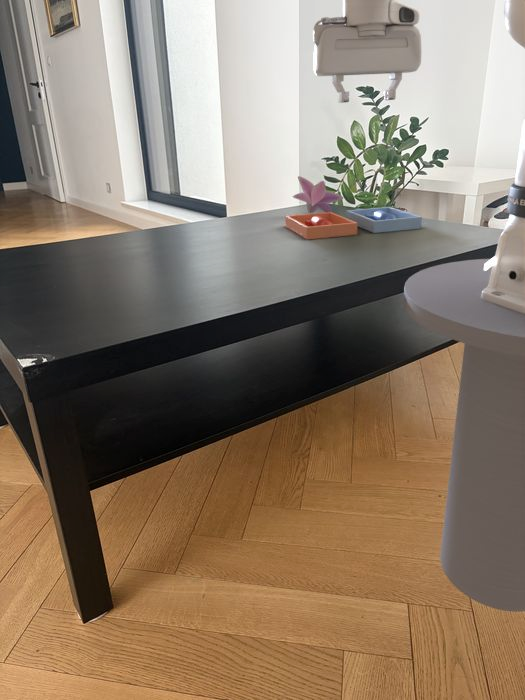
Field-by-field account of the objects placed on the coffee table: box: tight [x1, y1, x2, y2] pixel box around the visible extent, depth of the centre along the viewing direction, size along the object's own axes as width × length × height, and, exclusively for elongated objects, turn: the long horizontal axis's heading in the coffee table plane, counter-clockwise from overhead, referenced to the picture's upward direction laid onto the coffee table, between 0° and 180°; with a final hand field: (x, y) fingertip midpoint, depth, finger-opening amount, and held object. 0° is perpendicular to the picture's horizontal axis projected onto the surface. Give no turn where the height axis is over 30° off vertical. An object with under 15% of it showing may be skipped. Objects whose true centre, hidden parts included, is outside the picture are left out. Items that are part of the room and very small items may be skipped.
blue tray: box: [345, 206, 423, 234], centre depth 124 cm, size 15×11×2 cm
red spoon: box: [305, 216, 332, 227], centre depth 121 cm, size 11×4×2 cm, turn 15°
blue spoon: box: [366, 211, 396, 221], centre depth 124 cm, size 11×4×2 cm, turn 15°
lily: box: [292, 175, 344, 214], centre depth 135 cm, size 12×12×10 cm
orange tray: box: [284, 211, 358, 241], centre depth 121 cm, size 15×11×2 cm
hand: (367, 101), depth 103 cm, fingers open, 8 cm apart
